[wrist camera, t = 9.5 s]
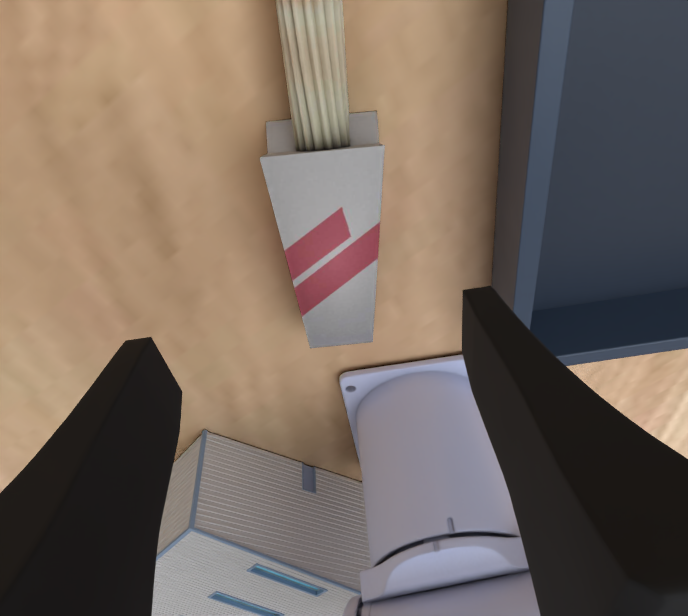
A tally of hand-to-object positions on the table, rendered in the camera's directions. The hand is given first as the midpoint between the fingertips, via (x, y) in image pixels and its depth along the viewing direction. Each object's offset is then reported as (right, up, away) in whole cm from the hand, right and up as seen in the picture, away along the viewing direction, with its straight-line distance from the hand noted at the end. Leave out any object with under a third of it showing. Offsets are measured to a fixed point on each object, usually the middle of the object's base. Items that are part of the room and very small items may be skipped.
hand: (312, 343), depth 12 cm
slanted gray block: (-11, -18, +29) cm, 35 cm away
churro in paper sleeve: (0, +8, +6) cm, 10 cm away
